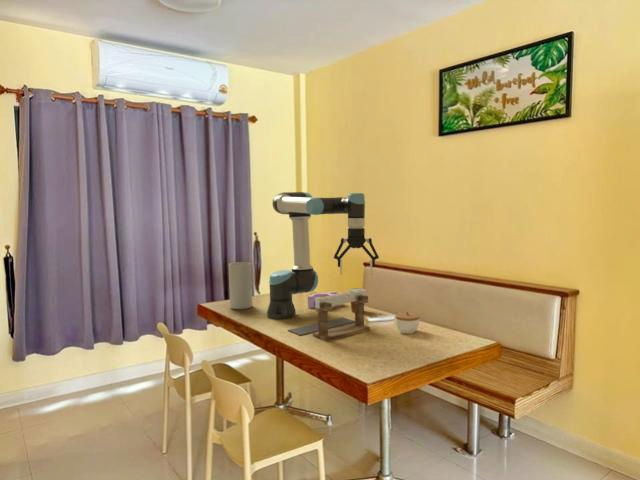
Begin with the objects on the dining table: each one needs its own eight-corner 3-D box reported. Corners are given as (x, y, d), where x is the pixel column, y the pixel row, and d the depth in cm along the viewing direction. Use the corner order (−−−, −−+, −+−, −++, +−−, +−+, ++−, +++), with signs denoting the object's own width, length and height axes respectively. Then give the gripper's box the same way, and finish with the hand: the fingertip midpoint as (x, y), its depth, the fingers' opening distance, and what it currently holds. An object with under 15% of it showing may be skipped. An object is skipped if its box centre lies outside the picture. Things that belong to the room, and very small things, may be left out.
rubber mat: (287, 330, 213) (287, 329, 213) (342, 318, 234) (342, 317, 234) (300, 335, 205) (300, 334, 205) (356, 322, 226) (356, 321, 226)
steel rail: (315, 307, 200) (315, 298, 199) (361, 297, 217) (361, 289, 216) (319, 308, 197) (319, 299, 197) (366, 298, 214) (366, 290, 214)
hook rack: (312, 336, 204) (312, 301, 203) (355, 325, 220) (355, 292, 219) (326, 341, 196) (326, 305, 195) (370, 330, 212) (370, 296, 211)
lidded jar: (419, 336, 203) (419, 315, 202) (395, 334, 205) (395, 314, 204) (419, 329, 213) (419, 309, 212) (395, 328, 215) (395, 308, 214)
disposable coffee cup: (352, 308, 253) (352, 287, 252) (368, 310, 249) (368, 288, 248) (346, 312, 245) (345, 290, 244) (362, 314, 241) (362, 292, 239)
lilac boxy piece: (332, 302, 270) (332, 290, 269) (346, 306, 260) (346, 294, 259) (305, 307, 258) (304, 295, 257) (318, 311, 248) (318, 299, 247)
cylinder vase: (226, 306, 261) (224, 263, 259) (244, 303, 269) (243, 261, 267) (237, 310, 252) (235, 266, 249) (256, 307, 260) (255, 263, 257)
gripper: (328, 228, 202) (328, 275, 204) (384, 228, 200) (384, 275, 203) (328, 226, 209) (329, 272, 212) (383, 226, 208) (383, 272, 210)
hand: (356, 274), depth 207 cm, fingers open, 13 cm apart
